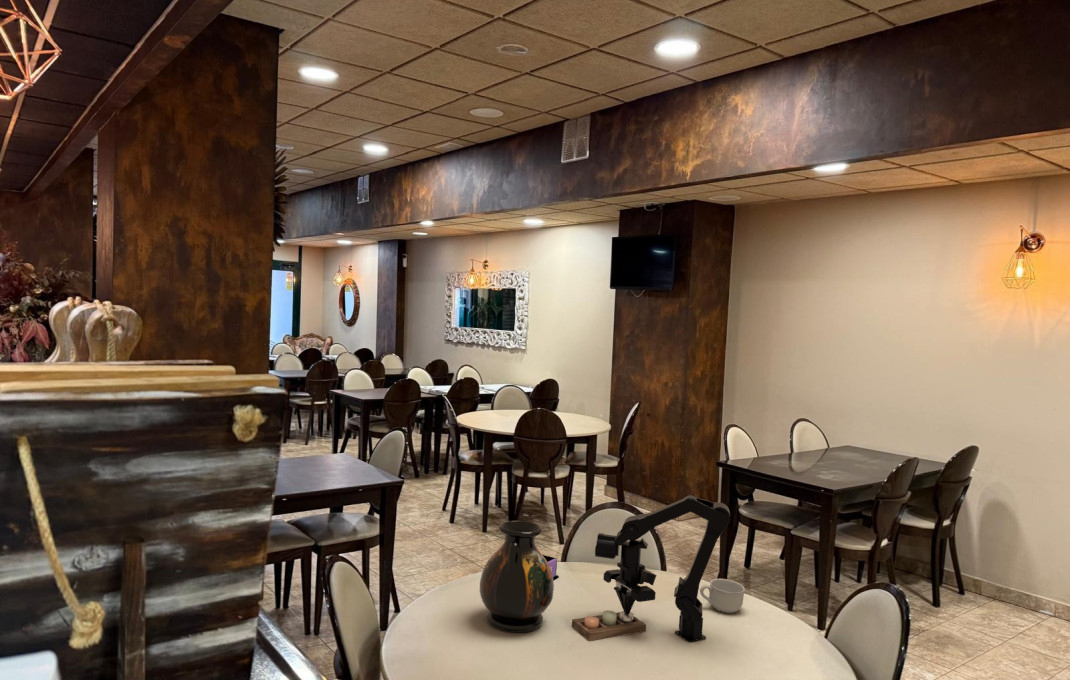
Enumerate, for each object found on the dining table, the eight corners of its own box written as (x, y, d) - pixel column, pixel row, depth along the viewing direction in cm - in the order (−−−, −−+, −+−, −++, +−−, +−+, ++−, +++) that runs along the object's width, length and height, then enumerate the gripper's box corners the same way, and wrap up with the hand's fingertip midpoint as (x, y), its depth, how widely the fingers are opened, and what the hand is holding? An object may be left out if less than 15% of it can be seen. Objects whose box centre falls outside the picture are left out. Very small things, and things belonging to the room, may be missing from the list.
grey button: (635, 625, 206) (636, 615, 206) (624, 627, 204) (624, 617, 204) (627, 620, 210) (628, 610, 210) (616, 622, 208) (617, 612, 208)
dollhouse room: (560, 577, 245) (561, 558, 245) (542, 587, 235) (544, 567, 234) (530, 569, 251) (531, 550, 251) (512, 579, 241) (513, 559, 241)
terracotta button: (600, 631, 201) (601, 621, 201) (588, 633, 199) (589, 622, 199) (593, 625, 204) (594, 615, 204) (581, 627, 202) (582, 617, 202)
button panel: (645, 631, 204) (646, 624, 204) (589, 640, 196) (590, 633, 196) (626, 617, 213) (626, 611, 213) (571, 626, 204) (572, 619, 204)
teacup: (739, 604, 230) (741, 580, 230) (746, 618, 219) (748, 592, 219) (696, 600, 231) (697, 576, 231) (700, 613, 220) (702, 588, 220)
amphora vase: (544, 643, 192) (550, 541, 192) (468, 631, 196) (474, 531, 196) (557, 613, 213) (563, 521, 213) (488, 603, 218) (494, 512, 217)
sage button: (618, 625, 203) (619, 615, 203) (607, 627, 202) (607, 616, 202) (611, 620, 207) (611, 609, 207) (599, 621, 205) (600, 611, 205)
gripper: (672, 568, 202) (668, 623, 202) (634, 549, 219) (631, 599, 219) (640, 572, 197) (636, 628, 197) (604, 552, 214) (600, 603, 214)
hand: (626, 614), depth 207 cm, fingers closed, pressing on grey button
